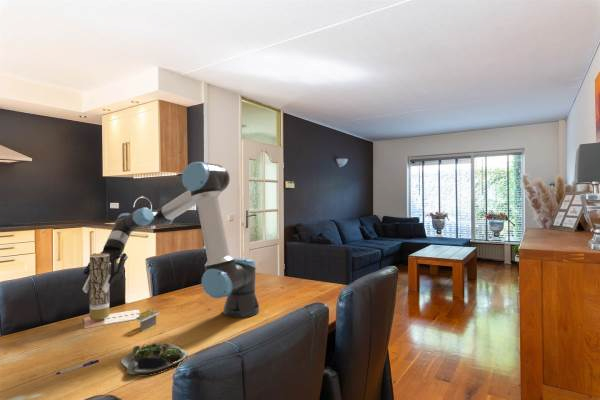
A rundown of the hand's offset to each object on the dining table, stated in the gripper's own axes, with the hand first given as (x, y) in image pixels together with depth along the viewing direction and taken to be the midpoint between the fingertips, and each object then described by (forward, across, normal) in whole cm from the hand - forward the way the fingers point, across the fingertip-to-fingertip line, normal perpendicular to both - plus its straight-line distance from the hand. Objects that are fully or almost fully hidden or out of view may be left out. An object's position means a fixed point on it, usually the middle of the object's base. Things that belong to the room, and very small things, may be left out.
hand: (94, 290), depth 131 cm
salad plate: (+32, -35, +13) cm, 49 cm away
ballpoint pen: (+34, -14, +15) cm, 40 cm away
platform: (+12, -22, -7) cm, 26 cm away
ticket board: (+5, -4, -13) cm, 15 cm away
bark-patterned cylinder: (+6, 0, -11) cm, 12 cm away
